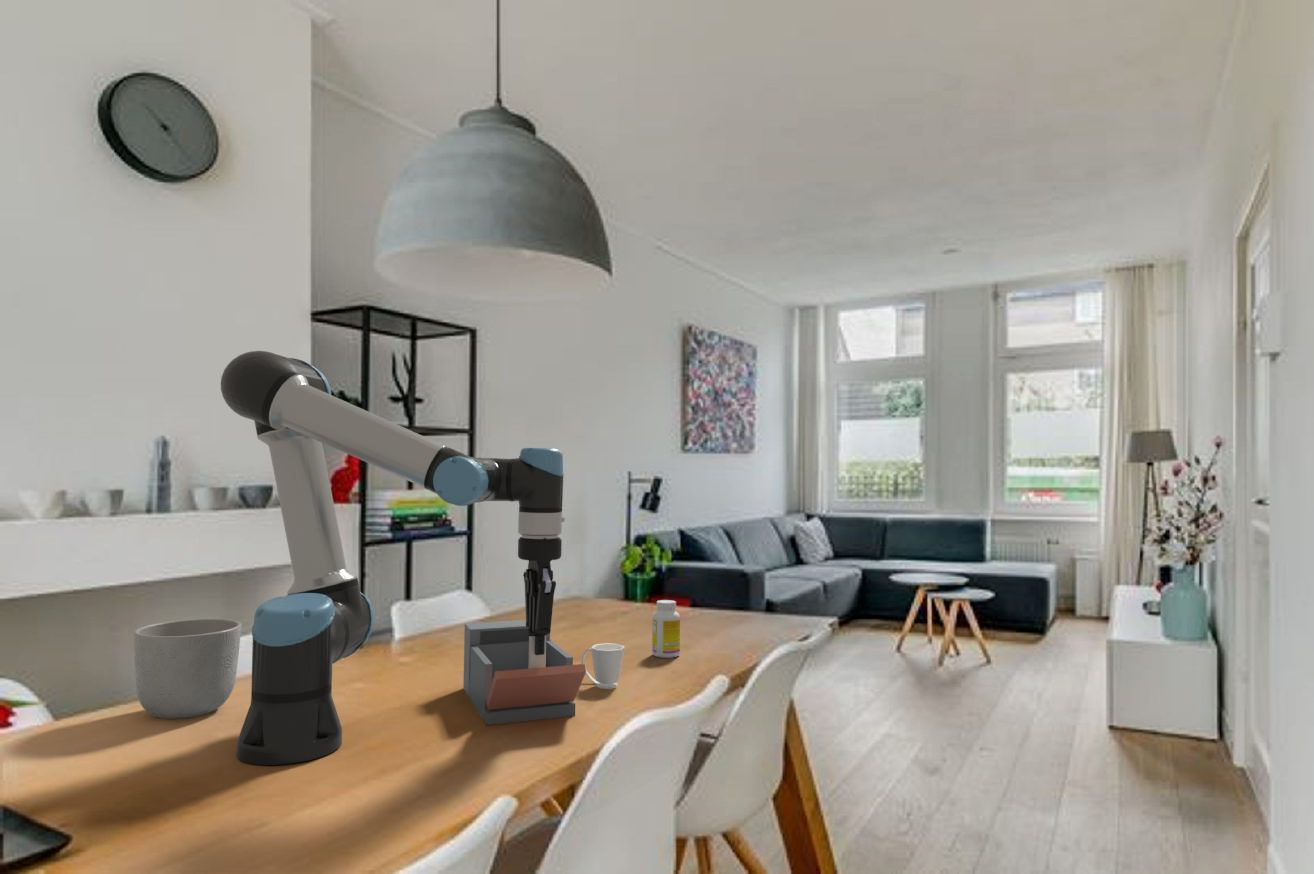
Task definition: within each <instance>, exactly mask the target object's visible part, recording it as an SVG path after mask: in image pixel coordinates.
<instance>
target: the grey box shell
mask: <svg viewBox="0 0 1314 874" xmlns="http://www.w3.org/2000/svg"><path fill="white" fill-rule="evenodd" d="M528 628H529V627H526V619H518V620H517V619H516V620H501V621H500V620H499V621H486V622H483V621H482V622H467V623H464V633H463V634H464V639H463V640H464V641H463V645H464V646H463V650H464V651H463V685H462V686H463V688H462V689H463V690H464V692H465V694H466V695H467V696H468V698H469V673H470V645H482V644H496V643H510V642H524V641H529V636H528V632H529V631H528ZM546 640H551V633H550V634H547V635H546Z"/></svg>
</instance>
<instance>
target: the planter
mask: <svg viewBox="0 0 1314 874" xmlns="http://www.w3.org/2000/svg"><path fill="white" fill-rule="evenodd" d="M242 627H243V624H242V622H240V621H238V620H234V619H227V618H191V619H180V620H179V619H178V620H171V621H164V622H158V623H153V624H148V625H145V626H142V627H139V628H137V629H135V630H134V631H133V635H132V636H133V651H134V652H133V654H134V655H133V656H134V657H133V658H134V673H135V690H136V695H137V698H138V701H139V704H140V705H141V707H142V709H144V710H145V712H147V713H148V714H149V715H151V716H153V717H154V718H158V719H159V718H161V719H166V720H182V719H189V718H195V717H199V716H203V715H207V714H209V713H212V712H214V711H216V710H218V709H220V707H222V706H223V705H224V703H226V702H227V701H228V699H229V698H230V696H231V695H232V693H233V690H234V688H235V684H236V679H237V672H238V664H239V654H240V646H241V645H240V644H241V635H242V634H241V633H242Z"/></svg>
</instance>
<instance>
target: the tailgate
mask: <svg viewBox="0 0 1314 874" xmlns="http://www.w3.org/2000/svg"><path fill="white" fill-rule="evenodd" d="M585 667H586V663H585V664H582V663H581V664H573V665H566V666H554V667H542V668H531V669H519V670H507V671H495V674H494V678H493V681H492V685H491V688H490V692H489V695H488V699H487V705H486V707H487V710H492V709H502V708H512V707H522V706H532V705H541V704H551V703H561V702H571V701H573V702H574V701H575V700H576V696H577V694H578V692H579V690H580V687H581V685H582V682H583V680H584V678H585V676H586V674H585V673H586V670H587V668H586V669H585Z"/></svg>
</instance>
